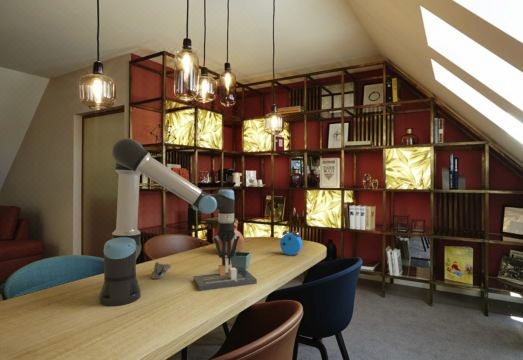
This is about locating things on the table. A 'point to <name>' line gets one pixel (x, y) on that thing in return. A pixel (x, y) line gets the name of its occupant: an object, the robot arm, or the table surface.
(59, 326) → the table surface
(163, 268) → the mineral specimen
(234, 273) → the fader ivory
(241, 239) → the jug
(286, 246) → the alarm clock
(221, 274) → the fader orange
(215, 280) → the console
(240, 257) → the flower pot
